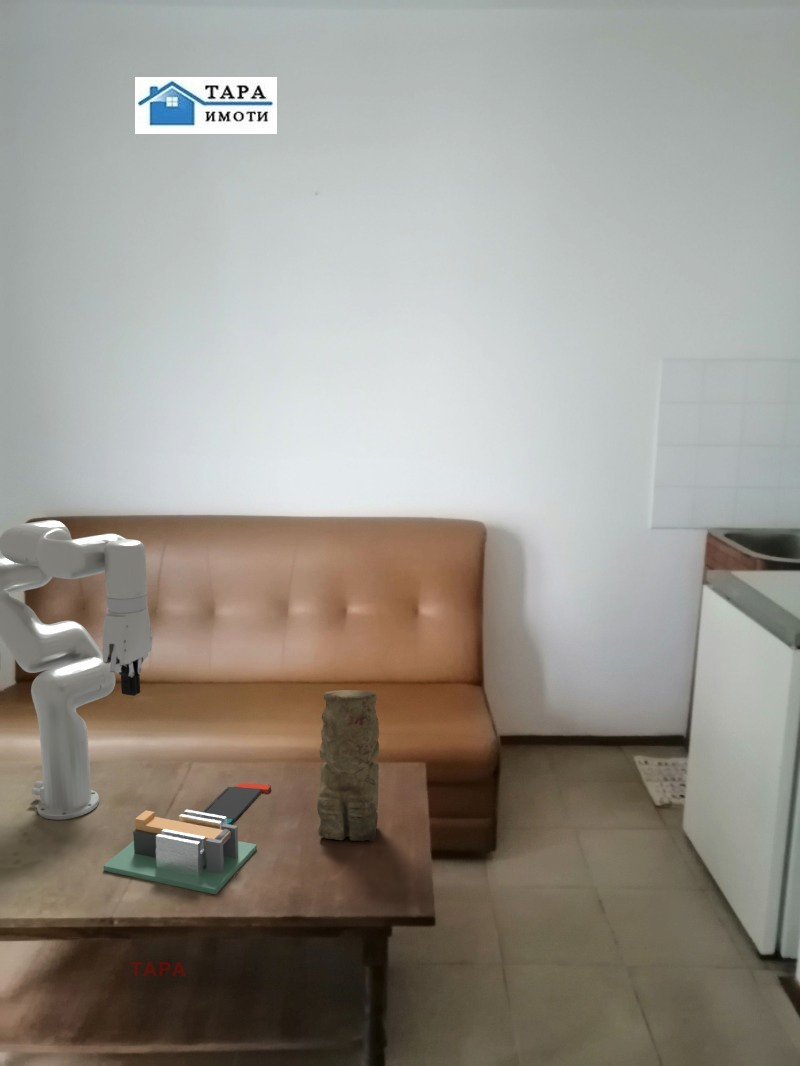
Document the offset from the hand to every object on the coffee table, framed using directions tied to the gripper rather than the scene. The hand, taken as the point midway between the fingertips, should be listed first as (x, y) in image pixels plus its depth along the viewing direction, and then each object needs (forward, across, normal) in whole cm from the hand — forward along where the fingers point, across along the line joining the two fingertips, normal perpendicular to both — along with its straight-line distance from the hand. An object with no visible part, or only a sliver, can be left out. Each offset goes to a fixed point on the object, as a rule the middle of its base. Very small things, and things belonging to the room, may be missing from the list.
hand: (131, 693), depth 167 cm
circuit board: (+31, +4, +13) cm, 34 cm away
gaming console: (+31, -18, +12) cm, 38 cm away
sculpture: (+31, -15, +40) cm, 53 cm away
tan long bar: (+25, +4, +14) cm, 29 cm away
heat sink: (+31, +4, +16) cm, 35 cm away
